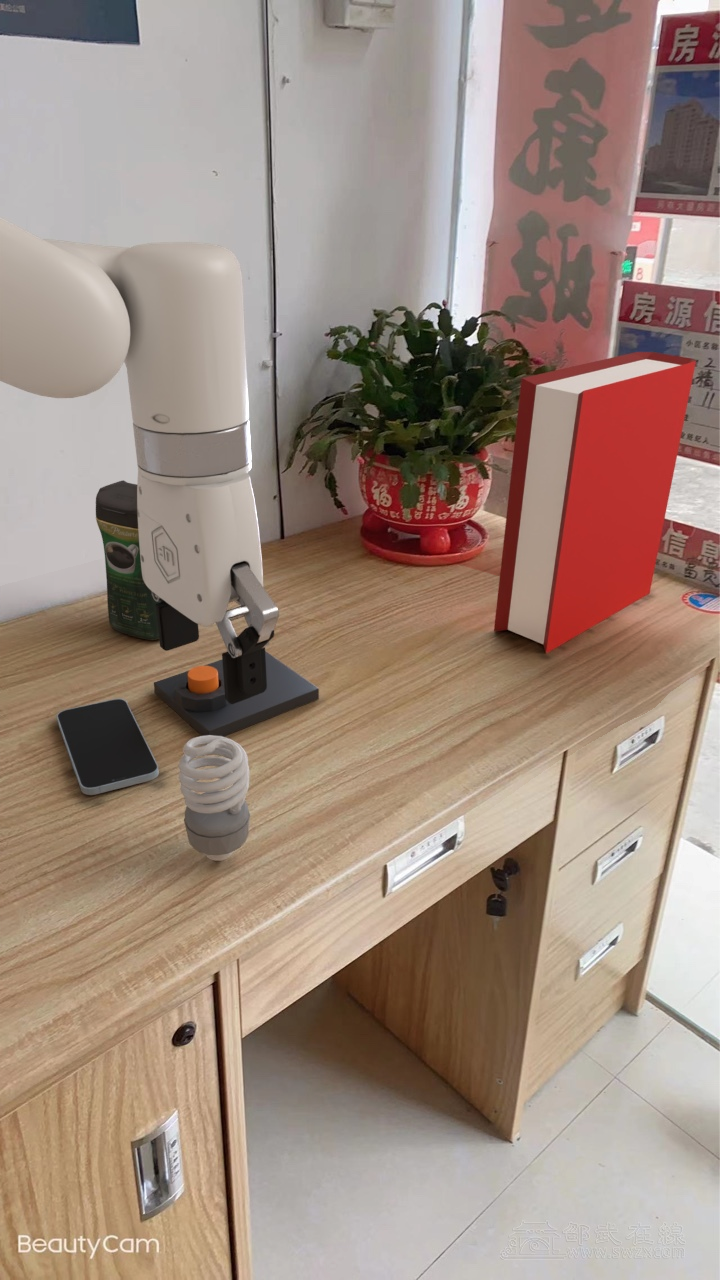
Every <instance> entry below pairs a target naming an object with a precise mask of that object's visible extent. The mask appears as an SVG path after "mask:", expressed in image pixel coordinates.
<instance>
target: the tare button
mask: <svg viewBox="0 0 720 1280" xmlns="http://www.w3.org/2000/svg"><path fill="white" fill-rule="evenodd" d="M188 671H189V672H188V686H189V690H190V691H191V692H193V693H198V694H202V693H210V692H213V691H216V690H217V689H218V687H219V682H218V671H217V669H215V668H214V667H211V666H204V665H197V666H195V667H192V668H191V669H189V670H188Z"/></svg>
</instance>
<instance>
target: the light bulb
mask: <svg viewBox="0 0 720 1280" xmlns="http://www.w3.org/2000/svg"><path fill="white" fill-rule="evenodd" d="M182 750H183V753H184V754H183V755H181V757H180V758H179V760H178V769H179V772H178V780H179V782H180V789H179V790H180V793H181V795H182V796H183V797H184V798H183V800H184V805H186V807H185V810H184V818H183V822H184V826H185V827H184V828H185V831H186V836H187V839H188V842H189V845H190V846H191V847H192V848H193V849H194V850H196V851H197V852H198V853H200V854H204V856H206V858H208V859H209V860H211V861H216V862H217V861H218V862H223V861H225V860H227V859H228V858H230V857H231V856H232V855H233V854H234V852H235V851H236V850H238V849H240V848H241V847H242V846H243V845H244V844H246V842H247V839H248V837H249V829H250V818H251V814H250V810H249V806H248V805H249V804H248V803H247V801H246V798H247V793H248V791H249V788H250V767H249V757H248V754H247V752H246V750H245V748H243V747H242V745H241V744H239V743H238V742H237V741H234V740H233V739H231V738H229V737H225V736H224V737H222V736H213V735H207V736H202V735H200V736H196V737H193V738H190V739H189V740H188V741H186V743H185V744H184V746H183V749H182ZM197 757H198V758H197ZM205 767H213V768H205ZM200 768H203V769H200ZM214 779H215V780H214ZM216 779H218V780H216ZM208 780H214V781H208Z"/></svg>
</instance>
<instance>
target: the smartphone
mask: <svg viewBox="0 0 720 1280" xmlns="http://www.w3.org/2000/svg"><path fill="white" fill-rule="evenodd" d="M56 722H57V725H58V728H59V732H60V734H61V736H62V739H63V742H64V745H65V748H66V752H67V755H68V757H69V759H70V762H71V766H72V769H73V772H74V774H75V777H76V779H77V783H78V785H79V788H80V791H81V792H82V794H84V795H86V796H94V795H100V794H103V793H107V792H111V791H114V790H118V789H122V788H126V787H130V786H135V785H138V784H141V783H142V784H143V783H146V782H151V781H153V780H155V779H156V778H158V777H159V775H160V774H159V773H160V772H159V765H158V762H157V761H156V759H155V756H154V754H153V752H152V750H151V748H150V746H149V744H148V742H147V739H146V738H145V735H144V734H143V731H142V730H141V728H140V726H139V723H138V722H137V720H136V717H135V715H134V714H133V711H132V710H131V707H130V706H129V703H128V702H127V700H126V699H123V698H113V699H108V700H103V701H99V702H93V703H90V704H85V705H79V706H76V707H72V708H71V707H70V708H66V709H63V710H61V711H59V712H58V713H57V714H56Z"/></svg>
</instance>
